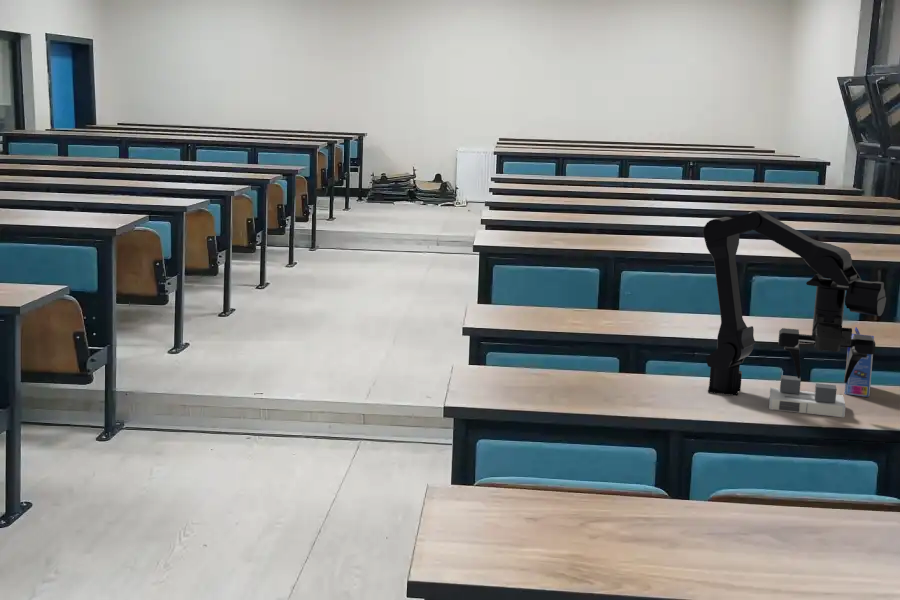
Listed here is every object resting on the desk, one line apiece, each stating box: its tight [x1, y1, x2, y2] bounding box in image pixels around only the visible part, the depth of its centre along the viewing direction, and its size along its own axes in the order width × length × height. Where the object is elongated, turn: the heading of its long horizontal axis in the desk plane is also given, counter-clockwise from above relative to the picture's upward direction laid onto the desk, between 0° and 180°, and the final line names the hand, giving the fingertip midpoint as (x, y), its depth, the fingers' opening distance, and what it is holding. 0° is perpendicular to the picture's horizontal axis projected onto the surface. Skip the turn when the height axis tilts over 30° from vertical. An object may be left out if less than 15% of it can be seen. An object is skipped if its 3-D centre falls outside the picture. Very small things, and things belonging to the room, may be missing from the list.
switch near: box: [814, 383, 838, 403], centre depth 201 cm, size 4×3×3 cm
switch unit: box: [768, 387, 846, 418], centre depth 204 cm, size 15×8×3 cm, turn 71°
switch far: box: [779, 374, 802, 394], centre depth 207 cm, size 4×3×3 cm
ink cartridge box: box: [844, 326, 875, 398], centre depth 217 cm, size 10×6×14 cm, turn 155°
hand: (821, 380), depth 201 cm, fingers open, 9 cm apart
